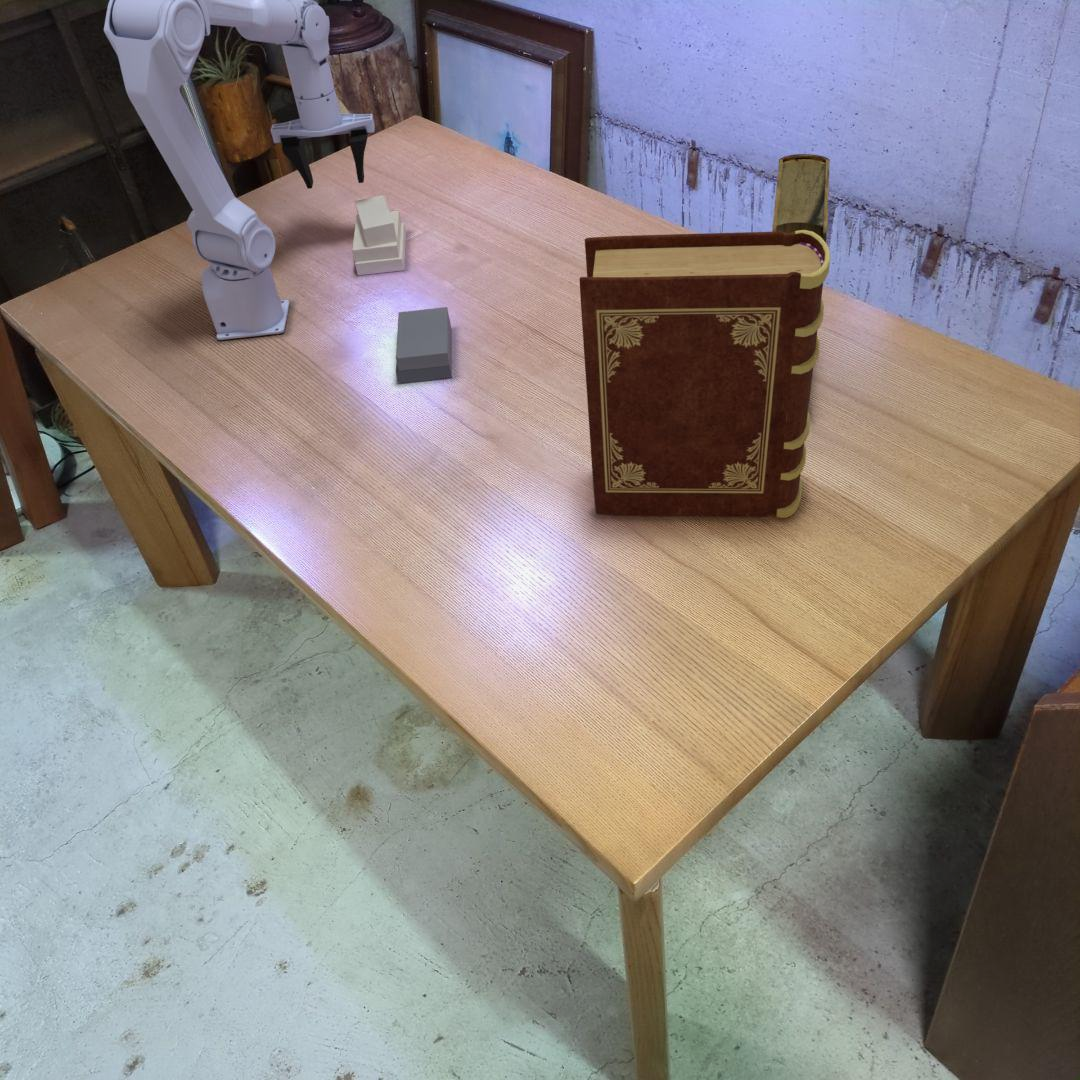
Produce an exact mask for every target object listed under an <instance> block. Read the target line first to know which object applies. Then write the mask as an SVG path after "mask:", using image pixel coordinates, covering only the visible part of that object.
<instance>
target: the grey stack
mask: <svg viewBox="0 0 1080 1080" xmlns="http://www.w3.org/2000/svg"><path fill="white" fill-rule="evenodd" d="M397 315H398V316H397V333H396V352H395V362H396V363H395V374H396V379H397V383H398V385H399V384H409V383H418V382H429V381H437V380H447V379H453V361H452V360H453V359H452V358H453V354H452V353H453V342H452V341H453V340H452V339H453V338H452V337H453V334H452V331H453V330H452V325H451V319H450V314H449V309H448V306H444V307H433V308H426V309H417V310H416V309H415V310H407V311H398V314H397Z"/></svg>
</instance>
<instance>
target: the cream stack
mask: <svg viewBox="0 0 1080 1080" xmlns="http://www.w3.org/2000/svg"><path fill="white" fill-rule="evenodd" d="M389 211H390V214H391V217H392V219H393V222H394V227H395V232H396V237H397V241H395V242H390V243H385V244H381V245H376V246H371V247H367V245H366V242H365V238H364V235H363V232H362V228H361V225H360V222H359V218H358V214H356V216H355V224H354V232H353V241H352V250H351V251H352V255H353V259H354V266H355V269H356V274H357V276H365V275H374V274H382V273H393V272H401V271H405V268H406V267H405V264H406V263H405V262H406V246H407V245H406V244H407V230H406V224H405V221H402V217H401V211H400V210H399V209H397V210H389Z"/></svg>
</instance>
